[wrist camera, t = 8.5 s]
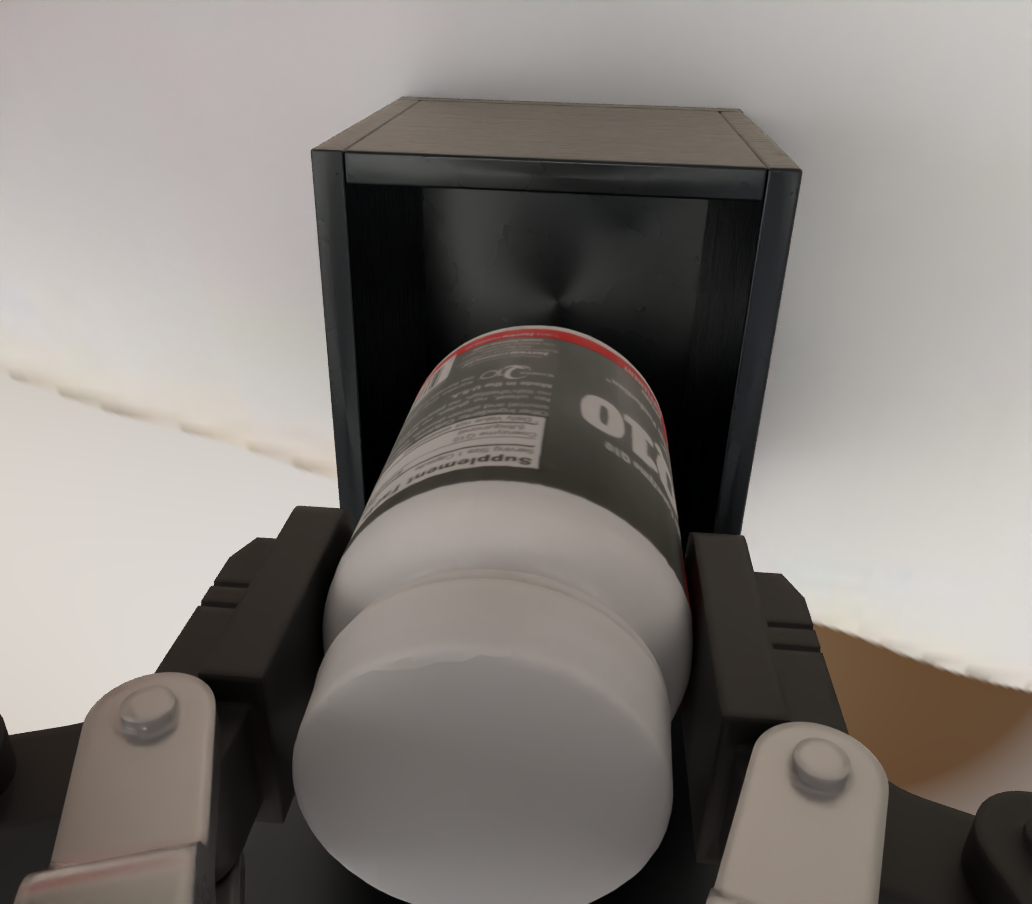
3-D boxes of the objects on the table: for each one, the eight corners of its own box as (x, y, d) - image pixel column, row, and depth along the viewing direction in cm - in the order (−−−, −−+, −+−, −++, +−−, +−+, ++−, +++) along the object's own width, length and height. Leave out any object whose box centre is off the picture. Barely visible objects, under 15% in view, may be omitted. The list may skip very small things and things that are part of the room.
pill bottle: (697, 506, 17) (771, 910, 10) (471, 570, 18) (381, 975, 11) (616, 278, 15) (631, 565, 8) (369, 366, 16) (173, 689, 9)
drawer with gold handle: (83, 979, 13) (103, 1229, 14) (885, 1065, 12) (841, 1322, 13) (344, 601, 27) (343, 742, 28) (727, 630, 26) (712, 773, 27)
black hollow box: (400, 96, 31) (309, 149, 21) (740, 109, 30) (804, 169, 20) (413, 444, 37) (347, 604, 28) (693, 462, 36) (724, 633, 27)
